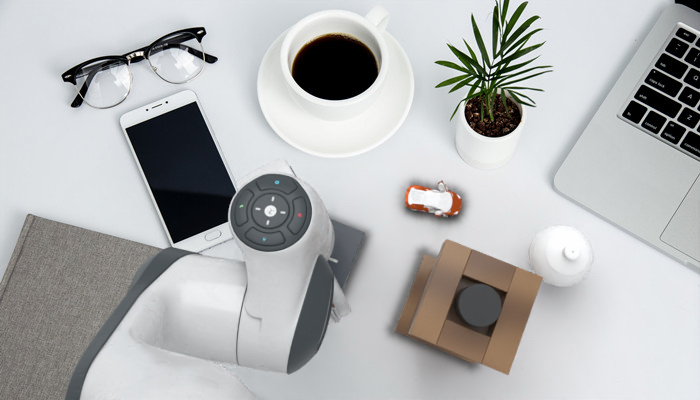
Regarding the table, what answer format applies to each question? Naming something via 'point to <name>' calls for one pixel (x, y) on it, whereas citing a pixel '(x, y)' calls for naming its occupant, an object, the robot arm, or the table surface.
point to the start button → (478, 305)
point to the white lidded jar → (561, 255)
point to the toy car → (433, 200)
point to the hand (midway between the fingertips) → (306, 250)
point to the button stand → (439, 306)
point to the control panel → (344, 251)
